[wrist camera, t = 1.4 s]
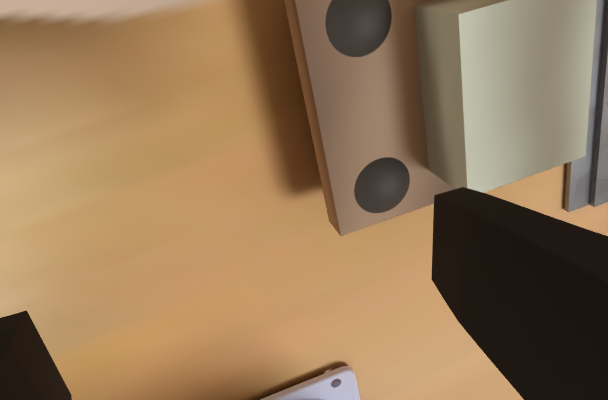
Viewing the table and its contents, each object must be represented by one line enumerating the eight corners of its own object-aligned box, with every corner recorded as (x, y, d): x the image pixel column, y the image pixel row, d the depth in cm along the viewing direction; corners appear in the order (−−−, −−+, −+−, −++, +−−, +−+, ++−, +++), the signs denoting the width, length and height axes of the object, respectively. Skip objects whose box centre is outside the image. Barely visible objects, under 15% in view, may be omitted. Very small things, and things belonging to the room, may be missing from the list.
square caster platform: (316, 207, 21) (369, 277, 16) (265, -27, 17) (319, -18, 12) (529, 134, 23) (630, 179, 18) (533, -94, 18) (665, -107, 14)
